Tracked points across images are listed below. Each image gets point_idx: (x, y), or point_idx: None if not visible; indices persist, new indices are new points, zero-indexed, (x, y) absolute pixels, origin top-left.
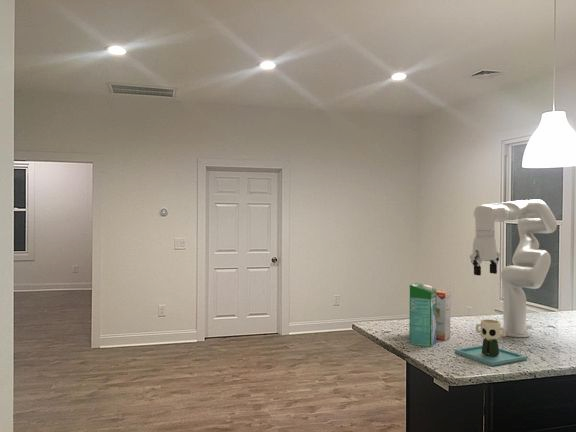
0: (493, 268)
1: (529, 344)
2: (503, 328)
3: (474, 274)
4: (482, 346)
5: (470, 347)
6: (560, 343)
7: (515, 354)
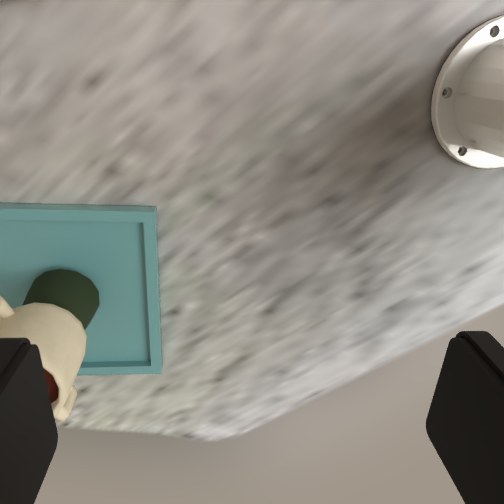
0: (481, 477)
1: (371, 243)
2: (55, 417)
3: (3, 347)
4: (26, 295)
5: (32, 215)
6: (485, 282)
7: (150, 340)
